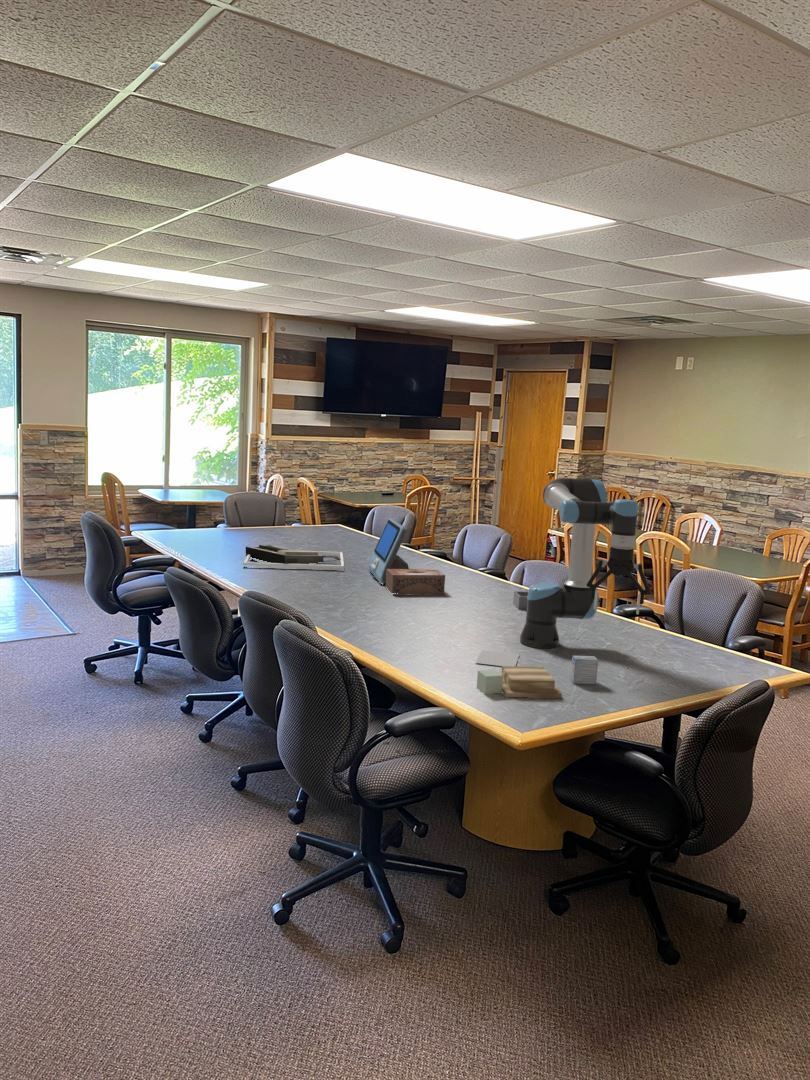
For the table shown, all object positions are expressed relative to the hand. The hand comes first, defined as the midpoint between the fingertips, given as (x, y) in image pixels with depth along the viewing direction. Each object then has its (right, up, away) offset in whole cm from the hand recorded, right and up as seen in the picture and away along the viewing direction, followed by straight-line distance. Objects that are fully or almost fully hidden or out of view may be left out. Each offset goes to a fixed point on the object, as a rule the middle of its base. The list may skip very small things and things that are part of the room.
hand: (616, 611), depth 270 cm
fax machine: (-130, +11, +188) cm, 229 cm away
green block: (-43, -25, -8) cm, 50 cm away
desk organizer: (-8, -8, +111) cm, 112 cm away
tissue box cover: (-65, -2, +130) cm, 145 cm away
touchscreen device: (-77, +3, +159) cm, 177 cm away
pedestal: (-30, -25, -3) cm, 39 cm away
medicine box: (-10, -25, +6) cm, 27 cm away
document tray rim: (-131, +11, +188) cm, 229 cm away
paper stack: (-32, -21, +21) cm, 44 cm away
